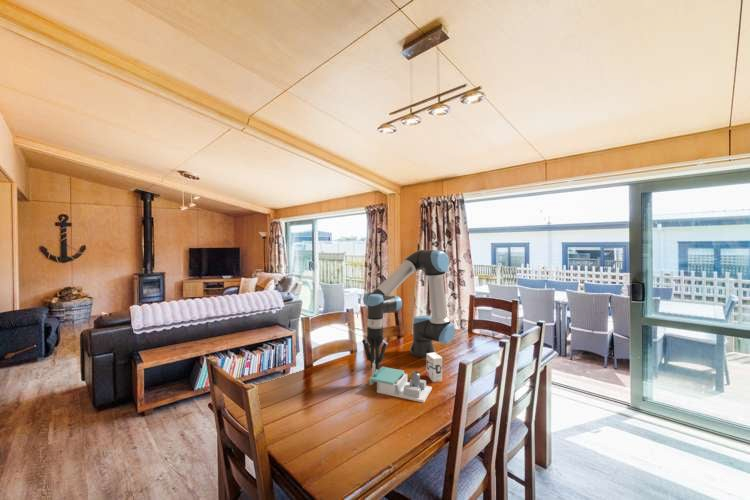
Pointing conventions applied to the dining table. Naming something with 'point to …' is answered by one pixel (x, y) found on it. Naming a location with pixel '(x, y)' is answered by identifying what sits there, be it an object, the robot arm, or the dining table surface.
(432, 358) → the ink box
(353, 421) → the dining table surface
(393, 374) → the lid
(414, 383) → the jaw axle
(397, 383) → the housing
